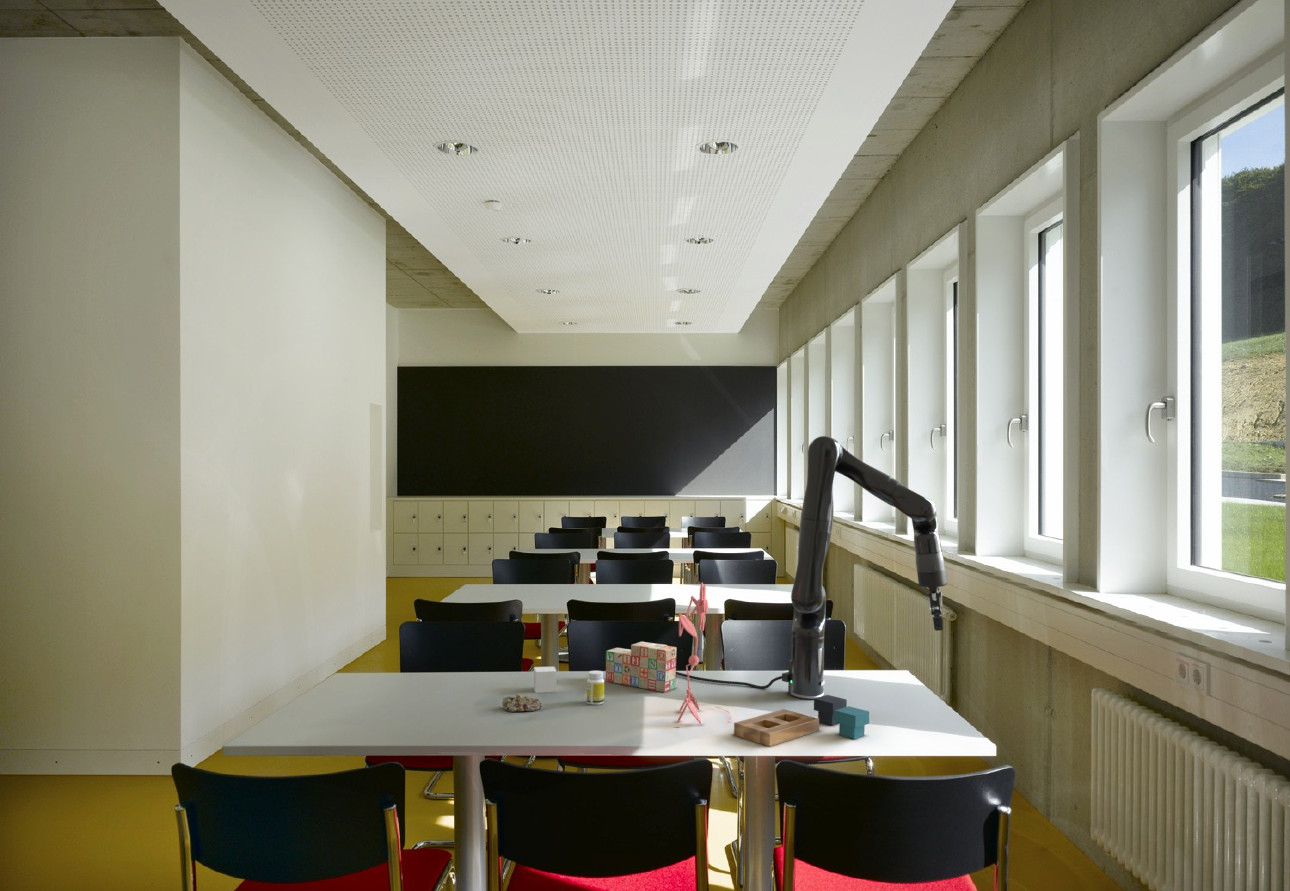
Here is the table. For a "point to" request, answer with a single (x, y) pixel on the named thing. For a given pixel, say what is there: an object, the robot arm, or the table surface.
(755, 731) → the block
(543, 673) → the white cube
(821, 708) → the dark grey cube
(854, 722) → the teal stepped block
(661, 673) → the stack of blocks
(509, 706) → the mineral rock
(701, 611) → the figurine
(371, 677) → the table surface
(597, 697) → the supplement bottle
